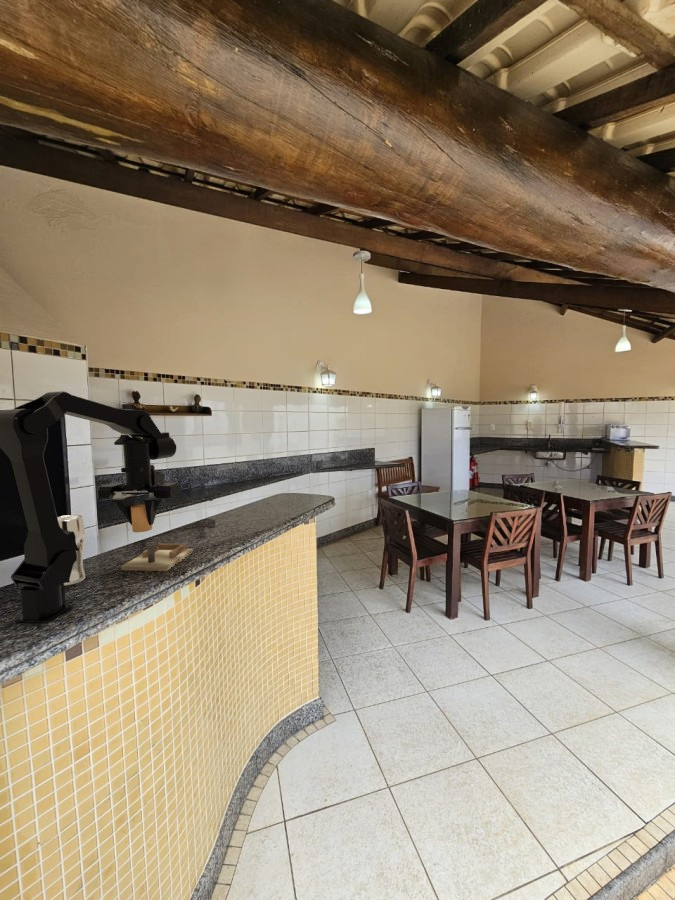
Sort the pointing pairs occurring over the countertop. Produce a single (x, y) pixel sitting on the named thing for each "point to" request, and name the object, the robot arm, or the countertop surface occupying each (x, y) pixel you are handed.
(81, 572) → the silver tall piece
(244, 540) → the countertop surface
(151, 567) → the hook board
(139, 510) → the orange rounded capsule
